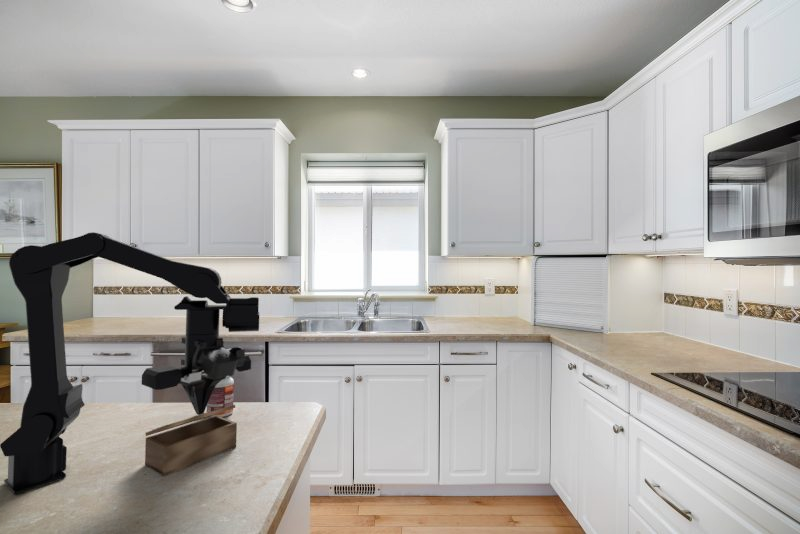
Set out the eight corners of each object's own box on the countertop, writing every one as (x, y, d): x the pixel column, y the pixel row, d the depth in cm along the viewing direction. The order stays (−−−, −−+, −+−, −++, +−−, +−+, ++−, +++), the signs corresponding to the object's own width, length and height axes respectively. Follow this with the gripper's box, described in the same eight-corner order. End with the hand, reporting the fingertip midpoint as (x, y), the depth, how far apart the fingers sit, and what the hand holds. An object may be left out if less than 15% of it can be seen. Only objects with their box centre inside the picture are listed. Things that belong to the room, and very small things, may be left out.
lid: (163, 429, 69) (163, 425, 69) (145, 436, 72) (145, 432, 72) (235, 407, 80) (234, 404, 81) (216, 414, 84) (216, 410, 84)
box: (164, 476, 68) (165, 447, 68) (144, 465, 72) (145, 437, 72) (236, 447, 80) (236, 422, 80) (216, 438, 84) (216, 415, 84)
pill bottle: (229, 418, 96) (230, 371, 96) (202, 418, 95) (203, 372, 95) (236, 409, 102) (237, 365, 102) (211, 410, 101) (212, 366, 101)
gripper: (174, 344, 63) (171, 442, 63) (270, 331, 79) (267, 409, 78) (141, 336, 69) (138, 425, 69) (236, 326, 85) (233, 398, 85)
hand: (199, 414), depth 75 cm, fingers closed, pressing on lid
